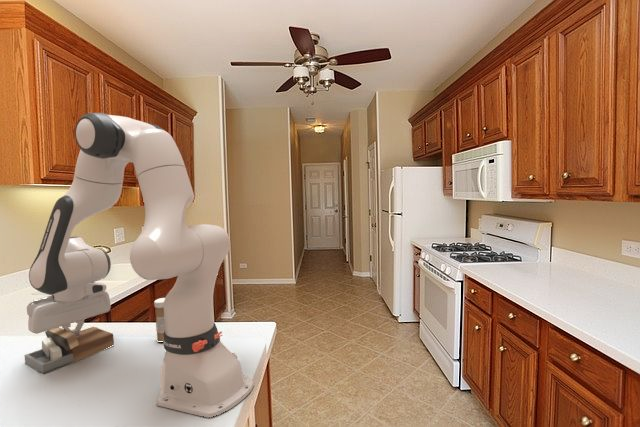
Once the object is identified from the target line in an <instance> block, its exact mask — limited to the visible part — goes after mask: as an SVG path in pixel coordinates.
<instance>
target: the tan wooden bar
mask: <svg viewBox="0 0 640 427" xmlns="http://www.w3.org/2000/svg"><path fill="white" fill-rule="evenodd" d="M44 334H45V336H46V338H49V337H51V338H52V340H53V341H54V343H55V344H56V345H57V346H59V347H60V348H62V349H64V350H66V351H69V350H70V349H72V348H74V347H76V346H78V345H79V343H78V340H77V337H76V334H74V333H71V332H69V331H67V330H64V329H63V328H62V327H57V328H54V329H51V330H48V331H45V332H44Z"/></svg>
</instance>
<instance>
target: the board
mask: <svg viewBox="0 0 640 427" xmlns="http://www.w3.org/2000/svg"><path fill="white" fill-rule="evenodd" d="M76 337H77V340H78V343H79V345H78V346H76V347H74V348H72V349H70V350H69V351H68V352H70V353H72V354H73V361H74V362H73V363H76V362H78V361H81V360H83V359H85V358H88V357H90V356H92V355H96V354H98V353H100V351H101V352H103V351H105V350H104V349H106V348H108V347H110V346H112V345H114V346H115V343H114V342H115V341H114V333H113V332H109V331H107V330H104V329H102V328H98V327H95V326H91V327H89V328H86V329H81V335H78V336H76ZM108 349H109V348H108ZM102 350H103V351H102ZM106 350H107V349H106ZM97 352H98V353H97ZM95 353H96V354H95Z"/></svg>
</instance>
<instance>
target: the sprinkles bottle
mask: <svg viewBox="0 0 640 427" xmlns="http://www.w3.org/2000/svg"><path fill="white" fill-rule="evenodd" d="M164 300H165V297H161V298H157V299H155V300H154V302H153V304H154V308H155V311H154V312H155V327H156V328H155V329H156V338H157V339H156V341H157V340H158V341H163V337H164V331H165V320H164Z"/></svg>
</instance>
